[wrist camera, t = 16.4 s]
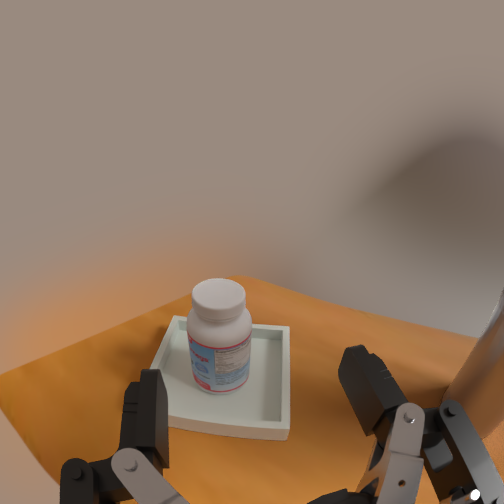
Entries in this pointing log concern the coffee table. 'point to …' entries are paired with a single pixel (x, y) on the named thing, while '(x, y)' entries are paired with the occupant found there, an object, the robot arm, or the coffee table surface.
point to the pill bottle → (219, 336)
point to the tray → (236, 403)
